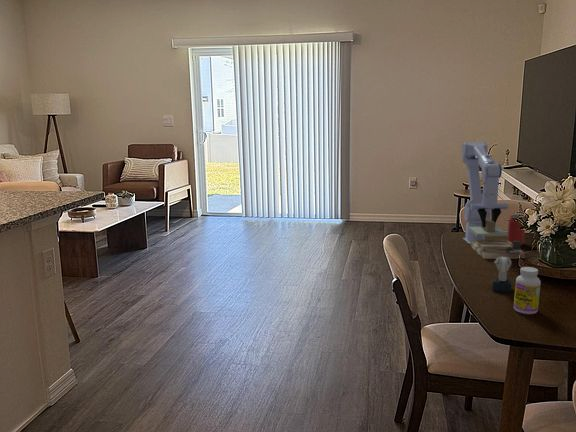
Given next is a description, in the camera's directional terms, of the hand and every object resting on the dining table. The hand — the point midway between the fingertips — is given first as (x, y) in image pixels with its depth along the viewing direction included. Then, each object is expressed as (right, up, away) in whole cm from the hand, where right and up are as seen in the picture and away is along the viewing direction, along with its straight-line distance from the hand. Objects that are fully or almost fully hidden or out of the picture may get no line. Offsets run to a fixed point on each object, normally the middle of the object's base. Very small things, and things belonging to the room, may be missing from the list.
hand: (488, 226), depth 219 cm
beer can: (+17, -8, +13) cm, 23 cm away
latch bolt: (+7, -9, -8) cm, 14 cm away
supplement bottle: (-11, -24, -59) cm, 64 cm away
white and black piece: (-11, -20, -41) cm, 47 cm away
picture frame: (+4, -10, +1) cm, 11 cm away
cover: (0, -2, 0) cm, 2 cm away
